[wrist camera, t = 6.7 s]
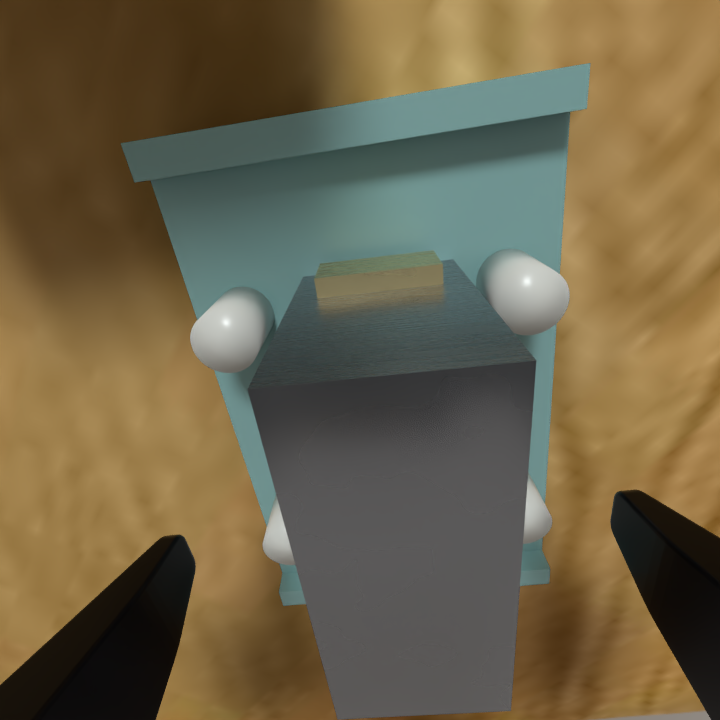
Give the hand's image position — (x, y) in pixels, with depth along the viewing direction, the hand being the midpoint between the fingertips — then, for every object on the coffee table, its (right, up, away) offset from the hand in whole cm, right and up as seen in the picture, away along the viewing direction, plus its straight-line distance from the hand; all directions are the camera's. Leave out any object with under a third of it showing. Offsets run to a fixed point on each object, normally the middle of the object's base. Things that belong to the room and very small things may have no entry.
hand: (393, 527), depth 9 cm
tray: (0, +3, +5) cm, 6 cm away
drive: (0, +2, +4) cm, 5 cm away
